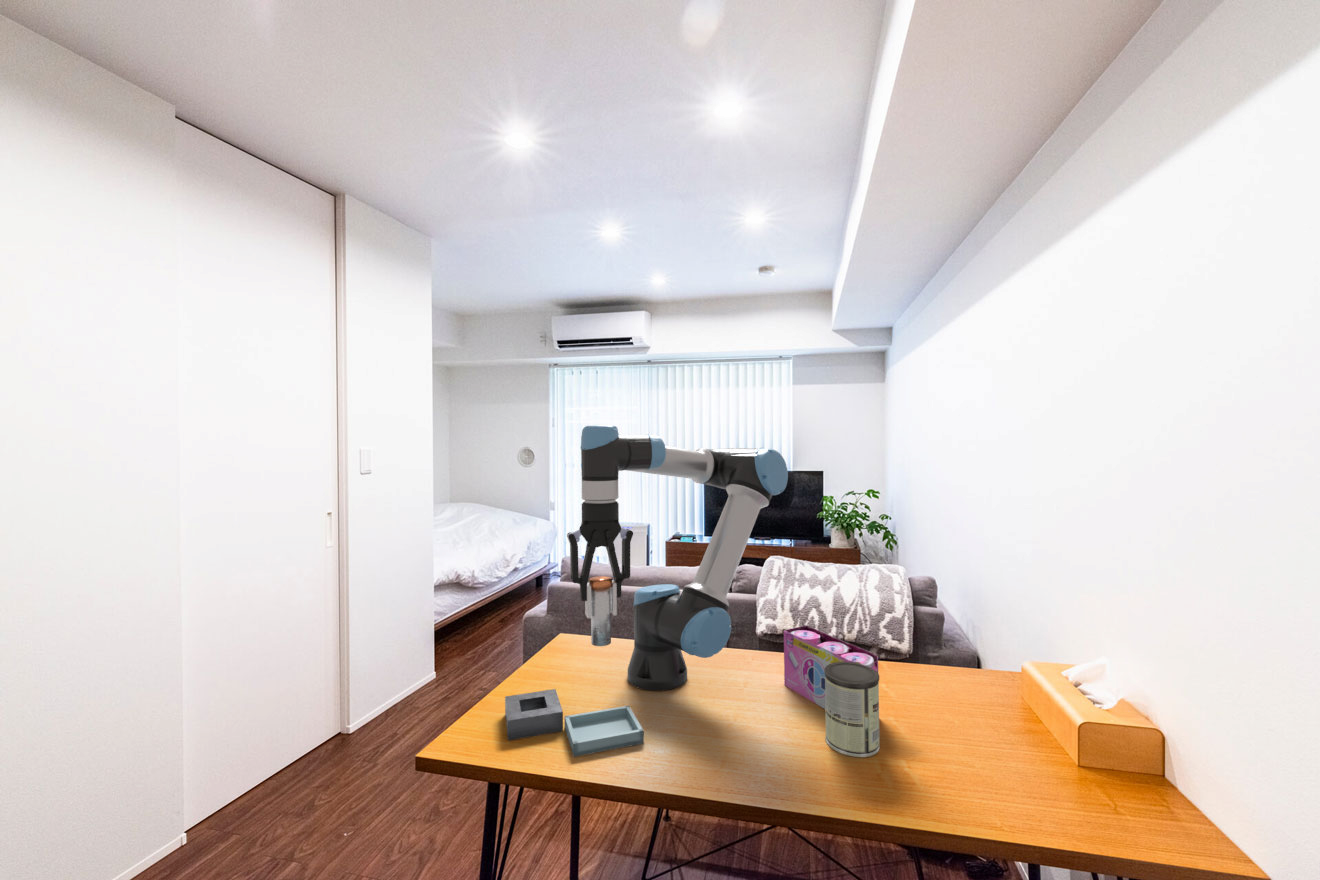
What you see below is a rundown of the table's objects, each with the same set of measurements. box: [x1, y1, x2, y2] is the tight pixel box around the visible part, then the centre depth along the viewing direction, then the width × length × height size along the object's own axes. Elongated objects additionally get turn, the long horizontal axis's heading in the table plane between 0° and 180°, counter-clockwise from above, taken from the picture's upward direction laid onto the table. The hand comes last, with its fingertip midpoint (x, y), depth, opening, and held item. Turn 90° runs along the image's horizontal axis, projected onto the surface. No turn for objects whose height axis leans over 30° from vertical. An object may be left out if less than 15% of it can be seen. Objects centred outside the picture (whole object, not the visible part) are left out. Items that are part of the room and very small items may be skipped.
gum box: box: [783, 625, 880, 710], centre depth 125 cm, size 24×8×14 cm, turn 27°
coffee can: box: [824, 662, 881, 758], centre depth 108 cm, size 10×10×14 cm
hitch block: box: [504, 688, 564, 741], centre depth 116 cm, size 11×11×4 cm
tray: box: [564, 705, 645, 757], centre depth 111 cm, size 14×11×2 cm
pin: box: [588, 575, 613, 647], centre depth 111 cm, size 5×5×13 cm
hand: (600, 614), depth 111 cm, fingers closed on pin, 4 cm apart
